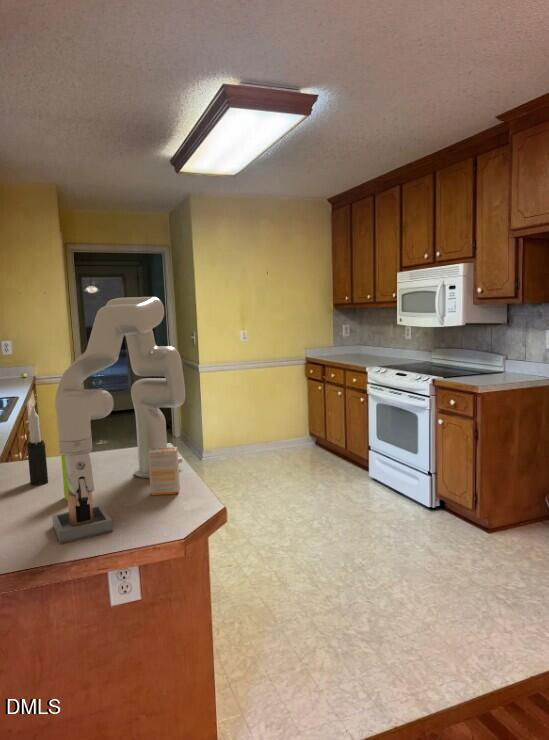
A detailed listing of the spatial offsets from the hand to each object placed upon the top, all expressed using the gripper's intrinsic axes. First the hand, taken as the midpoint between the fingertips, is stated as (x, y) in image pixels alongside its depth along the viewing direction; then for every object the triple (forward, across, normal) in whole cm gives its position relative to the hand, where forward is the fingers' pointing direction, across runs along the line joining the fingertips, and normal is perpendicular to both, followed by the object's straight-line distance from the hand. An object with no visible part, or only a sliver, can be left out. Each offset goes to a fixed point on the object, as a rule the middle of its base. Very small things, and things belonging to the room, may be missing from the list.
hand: (81, 515), depth 129 cm
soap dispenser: (+4, +26, -3) cm, 26 cm away
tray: (+3, 0, 0) cm, 3 cm away
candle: (+4, +47, +5) cm, 47 cm away
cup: (+2, 0, 0) cm, 2 cm away
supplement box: (+4, +14, -26) cm, 30 cm away
